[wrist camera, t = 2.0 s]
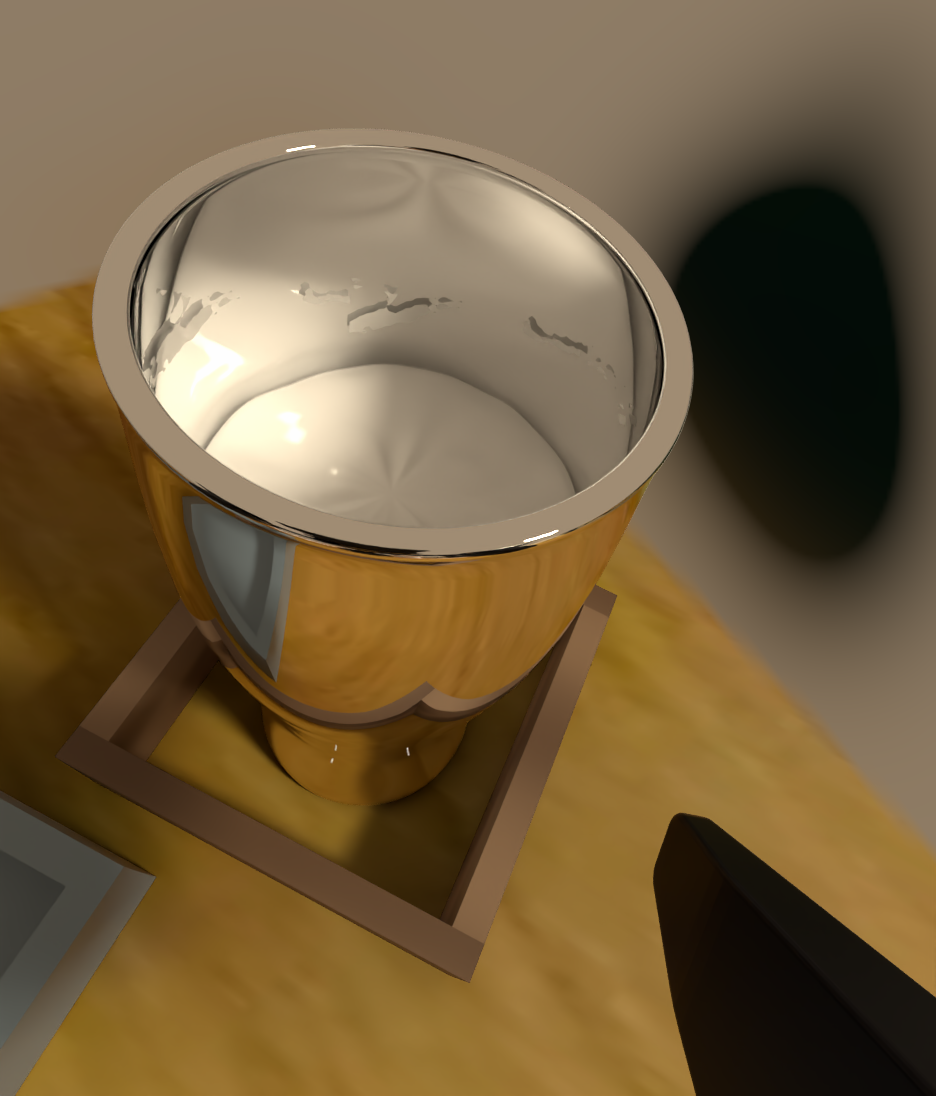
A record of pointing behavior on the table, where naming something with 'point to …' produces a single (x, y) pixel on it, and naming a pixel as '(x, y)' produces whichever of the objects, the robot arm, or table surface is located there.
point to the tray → (52, 927)
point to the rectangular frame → (447, 944)
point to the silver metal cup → (384, 427)
